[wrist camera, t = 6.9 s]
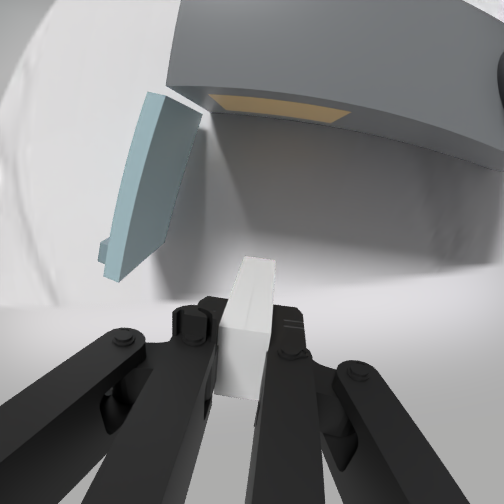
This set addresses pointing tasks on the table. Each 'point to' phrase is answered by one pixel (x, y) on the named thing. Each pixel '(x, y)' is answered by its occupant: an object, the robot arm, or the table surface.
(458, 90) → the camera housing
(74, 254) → the table surface
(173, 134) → the side door
